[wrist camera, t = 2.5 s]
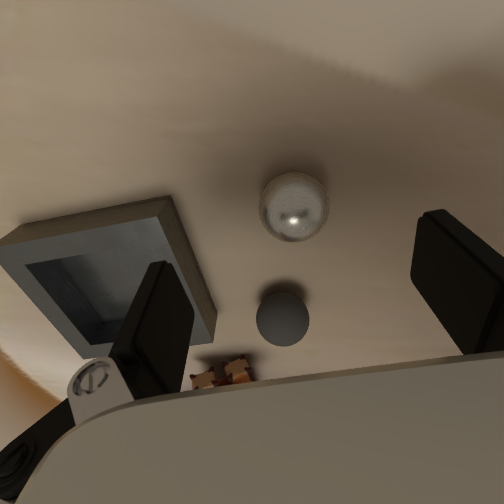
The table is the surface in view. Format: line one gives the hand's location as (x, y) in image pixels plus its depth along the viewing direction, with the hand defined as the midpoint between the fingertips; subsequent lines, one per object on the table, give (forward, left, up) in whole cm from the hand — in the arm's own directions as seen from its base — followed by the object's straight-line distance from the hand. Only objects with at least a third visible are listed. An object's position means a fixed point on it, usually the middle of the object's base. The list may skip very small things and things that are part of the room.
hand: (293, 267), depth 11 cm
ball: (+1, +10, -6) cm, 12 cm away
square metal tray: (+12, +5, -8) cm, 16 cm away
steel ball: (-1, +1, -6) cm, 6 cm away
